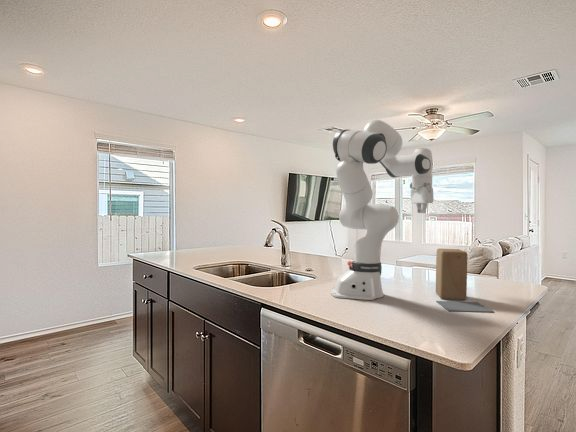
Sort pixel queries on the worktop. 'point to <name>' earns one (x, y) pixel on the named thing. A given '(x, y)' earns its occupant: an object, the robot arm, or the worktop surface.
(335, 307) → the worktop surface
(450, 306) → the mat
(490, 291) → the worktop surface
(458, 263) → the wooden block
